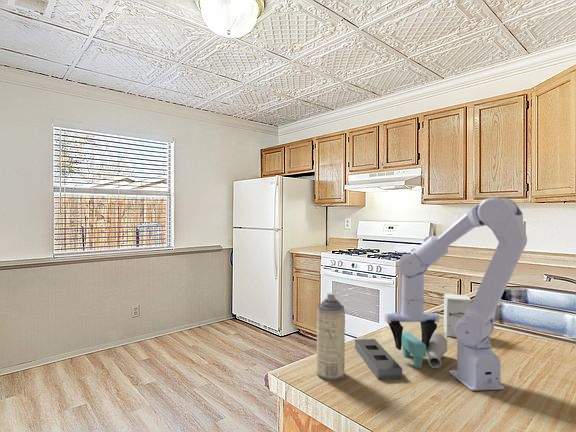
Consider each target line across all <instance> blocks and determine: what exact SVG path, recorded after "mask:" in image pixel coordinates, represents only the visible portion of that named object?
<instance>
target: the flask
mask: <svg viewBox="0 0 576 432" xmlns="http://www.w3.org/2000/svg"><path fill="white" fill-rule="evenodd" d="M420 341H422V335H421V336H420ZM447 351H448V339H446V336H444V334H442V332H439V331H434V333H433V335H432V337H431V339H430V342H429V345H428V349H426V355H427V356H428V365H429V366H430V367H431V368H432V369H439V368H441V367H442V360H441V359H442V357H443V356H444V355H445V354H446V352H447Z"/></svg>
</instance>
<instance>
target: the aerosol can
mask: <svg viewBox="0 0 576 432" xmlns="http://www.w3.org/2000/svg"><path fill="white" fill-rule="evenodd" d="M345 313H346V309H345V306H344V305H343V304H341V302H340V301H339V300H338V299H337V298H336V297H335V293H333V292H329V293H327V296H326V298H324V300H323V301H321V303H320V304H318V305H317V308H316V316H317V317H316V376H317V377H318V378H320V379H321V380H324V381H340V380H342V379H344V377H345V359H346V358H345V352H346V351H345V348H346V347H345V345H346V344H345V343H346V339H345V336H346V335H345V333H346V332H345V331H346V330H345V328H346V327H345V325H346V324H345V323H346V321H345V319H346V314H345Z"/></svg>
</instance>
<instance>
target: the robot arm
mask: <svg viewBox="0 0 576 432" xmlns="http://www.w3.org/2000/svg"><path fill="white" fill-rule="evenodd" d="M484 226H486V227H488V228H489V229H490V230H491V231H492V233H493V235H494V236H495V238H496V240H497V241H498V244H497V246H496V249H495V251H494V253H493V255H492V258H491V260H490V262H489V264H488V267H487V269H486V270H485V274H484V275H483V278H482V279H481V282H480V285H478V289H477V290H476V293H475V296H474V298H473V300H472V301H471V305H470V306H469V308H468V309H467V310H466V312H465V314H464V316H463V317H462V318H461V319H459V320H458V321H457V322H456V323H455V325H454V334H455V336H456V337H455V338H456V339H457V344H456V346H457V348H456V357H457V358H456V359H457V360H456V369H454V370H449V374H450V375H452V376H453V377H454V378H456V379H457V380H458V381H459V382H460V383H462V384H463V385H464V386H465V387H466V388H468V389H469V390H470V391H473V392H474V391H475V392H476V391H490V390H491V391H494V390H495V391H496V390H504V389H505V387H504V386H503V385H502V384H501V367H502V366H501V360H500V358H499V357H498V355H497V354H496V353H495V352H494V350H493V347H492V342H491V338H490V337H489V336H490V335H492V334H493V332H494V329H495V326H494V319H495V317H496V315H497V313H496V309H497V307H498V305H499V303H500V301H501V299H502V296H503V294H504V292H505V290H506V288H507V286H508V283H509V281H510V279H511V277H512V276H513V273H514V271H515V269H516V266H517V265H518V262H519V260H520V258H521V256H522V254H523V252H524V250H525V248H526V246H527V242H528V236H527V232H526V227H525V222H524V213H523V212H522V210H521V209H520V207H519V206H518V205H517V203H516V202H515V201H513V200H512V199H510V198H505V197H502V198H500V197H495V196H492V197H490V196H489V197H487V198H485V199H482V201H480V203H479V204H476V205H474V206H473V207H471V208H470V209H469V210H467V212H465V213H464V214H463V215H462V216H461V217H459V218H458V219H457V220H456V221H455V222H454V223H453V224H452V225H450V226H449V227H448V228H447V229H446V230H445V231H444V232H442V233H441V234H440V235H439V236H437V235H431V236H426V237H424V238H423V239H422V240H423V242H422V243H420V244H419V245H418V246H417V247H416V248H411V250H410V254H403V255H402V256H401V257H400V259H399V260H398V261H397V268H398V271H399V272H400V274H401V281H400V282H401V288H400V289H401V290H400V292H401V293H400V295H401V296H400V297H401V298H400V299H401V300H400V301H401V302H400V303H401V305H400V306H401V308H400V312H399V311H398V312H392V313H385V314H384V321H385V323H387V324H388V326H389V329H390V330H391V333H392V337H393V339H394V344H395V348H396V349H397V350H398V351H401V350H402V348H403V346H402V332H404V327H403V325H402V323H416V322H417V323H418V322H420V329H421V336H422V341H421V340H420V341H421V342H423V343H424V344H425V345H426V349H428V345H429V342H430V339H431V337H432V335H433V333H434V332H436V330H437V328H438V323H439V322H440V314H438V313H437V312H424V297H425V296H424V294H425V293H424V290H425V289H424V288H425V287H424V286H425V281H424V280H425V278H424V277H425V273H426V272H427V271H428V268H430V267H431V266H432V265H433V264H435V263H436V262H437V261H439V260H440V259H442V258H443V257H444V256H445V255H447V254H448V252H449V246H450V245H451V244H453V243H455V242H456V241H458V240H459V239H461V238H462V237H463V236H465V235H466V234H468V233H469V232H470V231H472V230H473V229H475V228H480V227H484Z"/></svg>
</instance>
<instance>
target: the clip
mask: <svg viewBox="0 0 576 432" xmlns="http://www.w3.org/2000/svg"><path fill="white" fill-rule="evenodd" d="M402 355H403V356H404V357H411V355H412V356H413V360H412V361H413V363H412V364H413V366H414V367H415V368H423V358H425V357H427V353H426V345H425V344H424V343H423V342H421V339H419V338H417V337H416V336H415V335H414V334H413V333H411V332H410V331H408V332H406V331H405V332H404V331H402Z"/></svg>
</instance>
